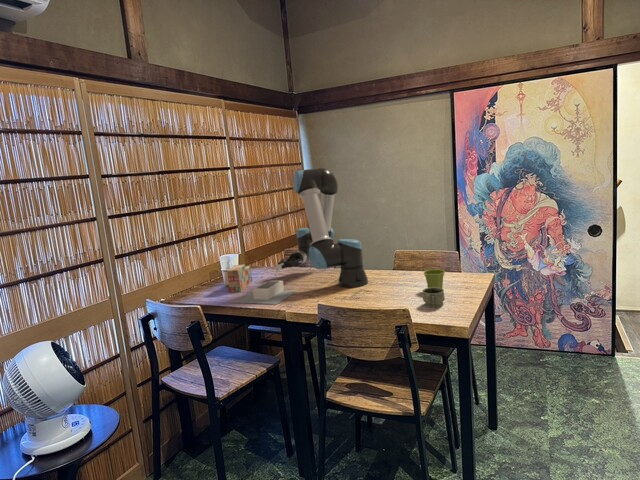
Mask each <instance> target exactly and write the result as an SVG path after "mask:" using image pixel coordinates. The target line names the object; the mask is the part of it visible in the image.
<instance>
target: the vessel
mask: <svg viewBox="0 0 640 480" xmlns="http://www.w3.org/2000/svg"><path fill="white" fill-rule="evenodd" d="M444 290H445V289H444V288H443V287H442V288H437V287H430V288H428V287H426V288H423V289H422V301H423V302H424V306H425V307H427V308H431V309H432V308H439V307H442V306H444V305H445V304H444V301H445V299H446V297H445V291H444Z"/></svg>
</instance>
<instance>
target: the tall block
mask: <svg viewBox="0 0 640 480" xmlns="http://www.w3.org/2000/svg"><path fill="white" fill-rule="evenodd" d="M284 286H285V285H284V281H283V280H268V281H266V282H264V283H262V284H261V285H259V286H256V287H254V288H252V292H253V297H254V299H259V300H268V299H270V298H272V297H273V296H275V295H277V294H278V293H280V292H282V291H285V287H284Z"/></svg>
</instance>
